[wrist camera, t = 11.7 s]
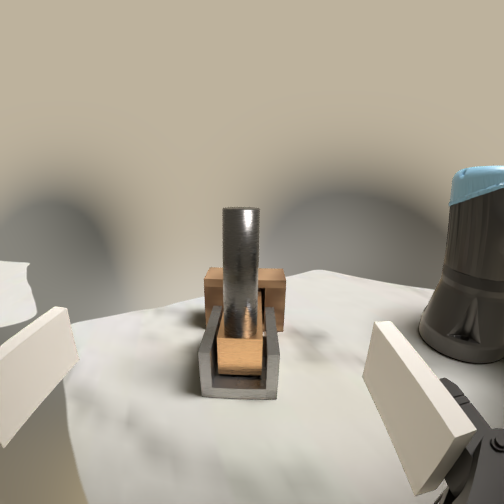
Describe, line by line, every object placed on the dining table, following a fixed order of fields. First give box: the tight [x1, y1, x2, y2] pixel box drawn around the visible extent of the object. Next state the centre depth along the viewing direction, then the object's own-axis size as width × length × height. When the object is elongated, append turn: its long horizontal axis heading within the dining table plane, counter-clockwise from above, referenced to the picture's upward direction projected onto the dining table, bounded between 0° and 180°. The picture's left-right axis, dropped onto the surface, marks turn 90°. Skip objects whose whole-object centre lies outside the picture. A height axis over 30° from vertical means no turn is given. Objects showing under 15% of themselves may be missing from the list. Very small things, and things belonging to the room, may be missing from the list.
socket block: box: [204, 267, 286, 331], centre depth 40 cm, size 10×5×7 cm, turn 89°
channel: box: [198, 306, 280, 399], centre depth 29 cm, size 7×10×5 cm
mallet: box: [217, 207, 263, 375], centre depth 32 cm, size 4×15×15 cm, turn 179°
